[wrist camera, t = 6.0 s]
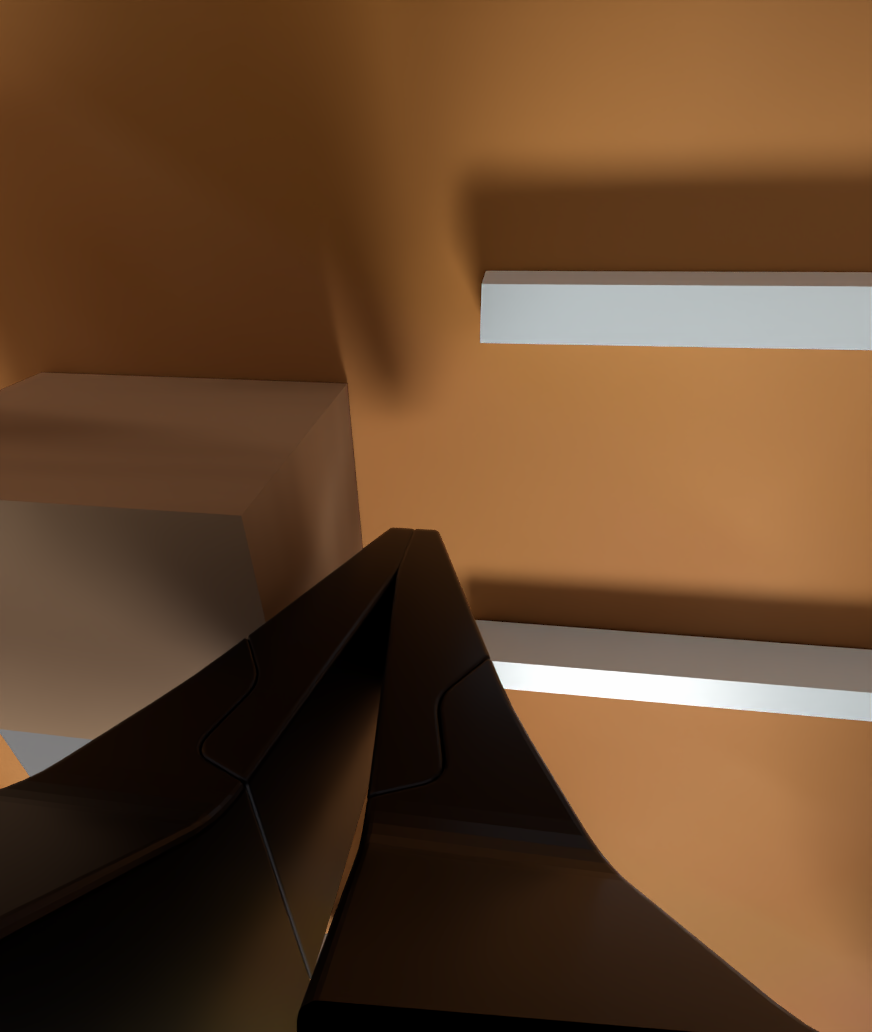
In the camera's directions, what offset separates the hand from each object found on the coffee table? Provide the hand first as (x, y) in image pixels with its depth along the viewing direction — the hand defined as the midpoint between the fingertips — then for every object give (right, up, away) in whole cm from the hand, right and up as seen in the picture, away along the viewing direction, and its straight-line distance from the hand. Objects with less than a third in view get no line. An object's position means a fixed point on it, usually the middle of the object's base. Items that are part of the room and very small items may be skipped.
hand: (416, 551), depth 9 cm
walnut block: (-4, +1, +2) cm, 5 cm away
